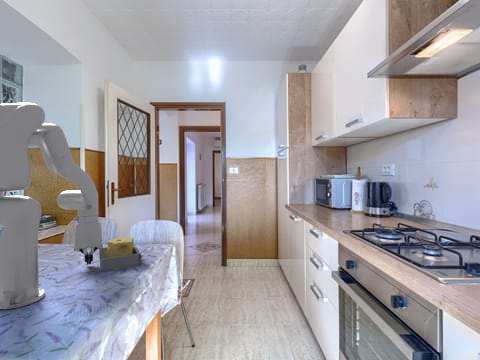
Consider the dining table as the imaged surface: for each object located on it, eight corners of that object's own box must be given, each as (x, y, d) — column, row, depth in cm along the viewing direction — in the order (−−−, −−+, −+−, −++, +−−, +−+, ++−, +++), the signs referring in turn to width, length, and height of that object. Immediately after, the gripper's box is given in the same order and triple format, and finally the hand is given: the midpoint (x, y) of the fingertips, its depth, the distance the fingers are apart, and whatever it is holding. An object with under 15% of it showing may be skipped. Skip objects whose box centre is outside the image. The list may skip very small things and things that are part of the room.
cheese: (105, 267, 112) (105, 243, 112) (110, 260, 123) (110, 238, 122) (132, 265, 115) (132, 241, 115) (135, 258, 125) (134, 236, 125)
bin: (141, 265, 114) (140, 253, 114) (100, 272, 107) (100, 259, 107) (134, 254, 132) (134, 243, 132) (99, 258, 125) (99, 247, 125)
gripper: (66, 222, 107) (66, 269, 107) (108, 219, 114) (108, 263, 114) (68, 219, 114) (68, 263, 114) (108, 217, 120) (108, 258, 120)
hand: (88, 263), depth 114 cm, fingers closed
